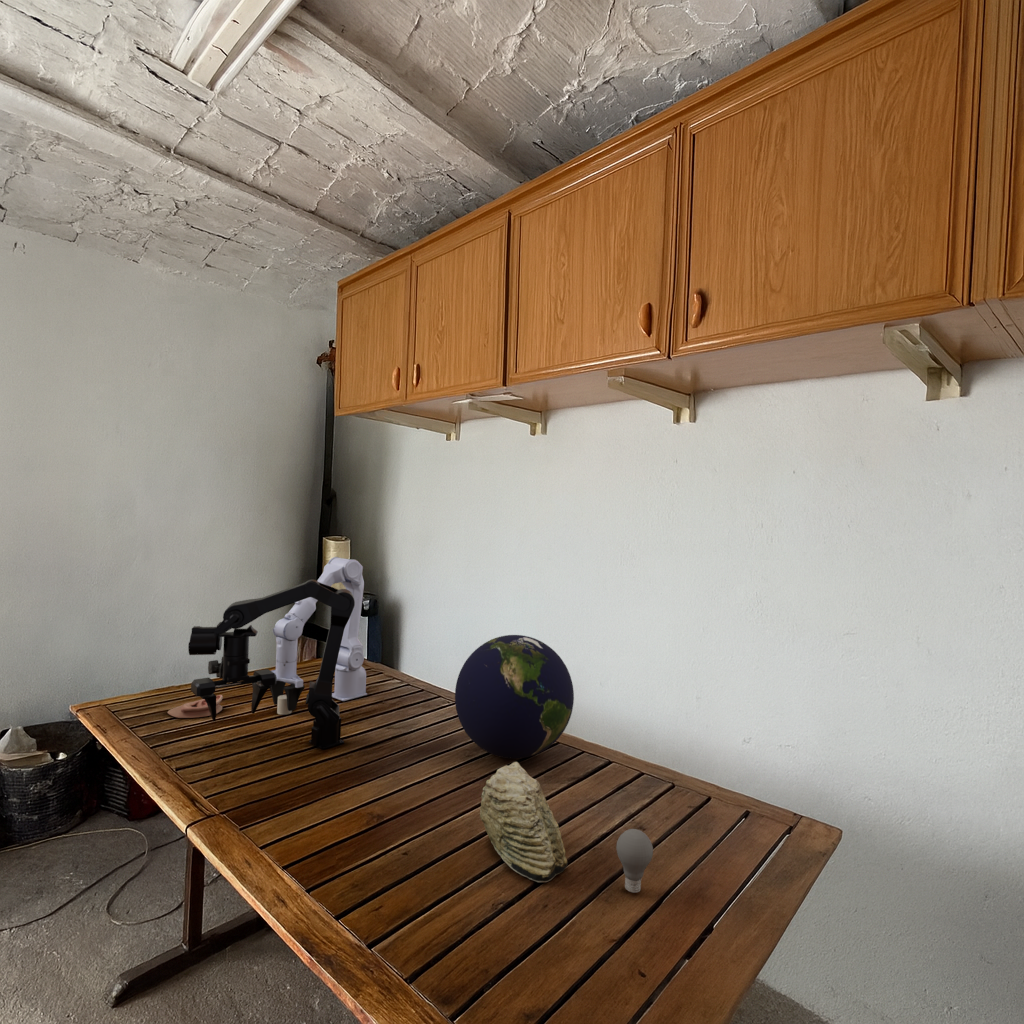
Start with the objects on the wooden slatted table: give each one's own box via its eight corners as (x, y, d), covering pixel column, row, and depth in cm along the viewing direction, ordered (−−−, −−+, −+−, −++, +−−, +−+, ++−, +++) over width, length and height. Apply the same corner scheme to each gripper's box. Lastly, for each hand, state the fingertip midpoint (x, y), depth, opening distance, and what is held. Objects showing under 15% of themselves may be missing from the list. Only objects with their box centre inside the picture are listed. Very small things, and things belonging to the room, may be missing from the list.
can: (280, 709, 186) (281, 694, 186) (293, 710, 186) (294, 694, 185) (274, 714, 182) (275, 698, 182) (288, 715, 182) (289, 699, 181)
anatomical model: (160, 701, 176) (189, 689, 187) (159, 715, 176) (188, 703, 187) (202, 706, 173) (229, 694, 185) (201, 721, 173) (228, 708, 185)
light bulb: (610, 879, 108) (613, 822, 108) (644, 879, 109) (647, 822, 109) (619, 902, 102) (622, 840, 102) (655, 901, 103) (658, 840, 103)
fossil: (501, 827, 124) (504, 751, 124) (575, 868, 111) (578, 784, 111) (467, 843, 118) (470, 763, 118) (541, 889, 105) (545, 799, 105)
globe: (500, 724, 181) (504, 620, 180) (592, 752, 164) (597, 636, 163) (427, 755, 157) (432, 635, 156) (526, 792, 139) (533, 657, 139)
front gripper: (262, 643, 168) (260, 701, 168) (185, 651, 156) (183, 714, 156) (278, 651, 160) (276, 713, 160) (198, 661, 147) (196, 728, 148)
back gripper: (260, 657, 185) (258, 704, 185) (288, 667, 176) (286, 716, 176) (281, 654, 190) (280, 698, 190) (310, 663, 181) (308, 710, 181)
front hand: (233, 716), depth 156 cm, fingers open, 9 cm apart
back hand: (284, 706), depth 184 cm, fingers open, 7 cm apart
